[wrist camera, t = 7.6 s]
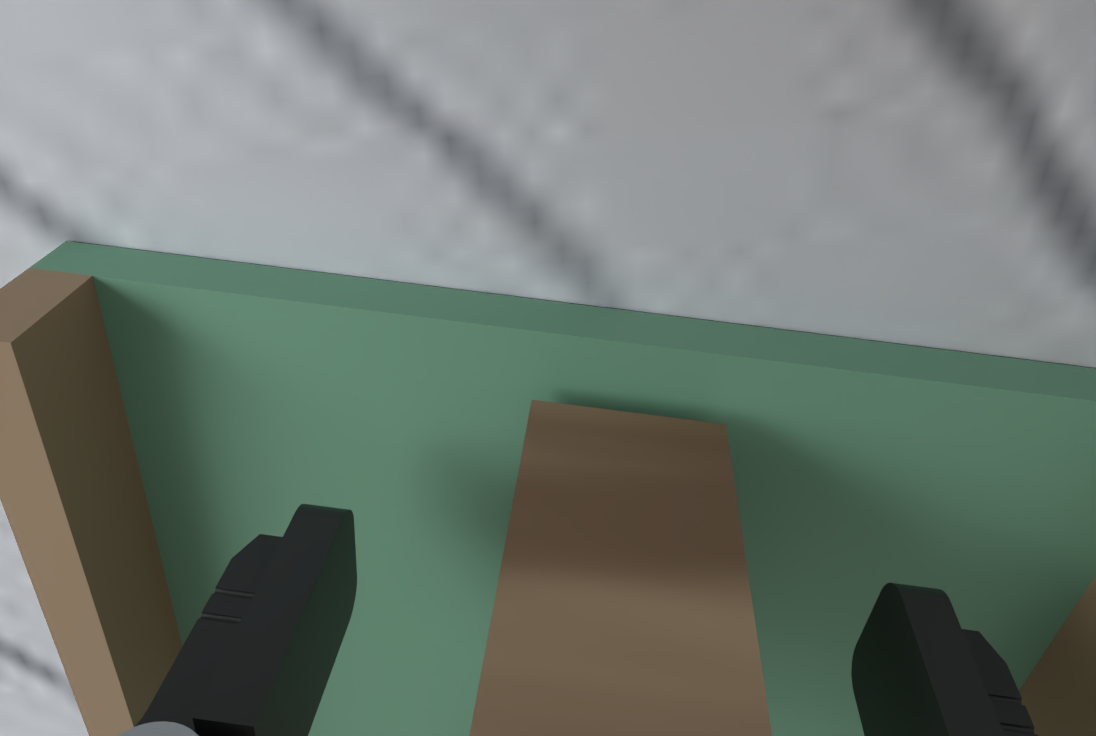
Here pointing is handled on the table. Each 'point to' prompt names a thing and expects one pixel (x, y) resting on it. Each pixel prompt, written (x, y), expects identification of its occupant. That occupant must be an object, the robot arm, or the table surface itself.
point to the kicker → (622, 585)
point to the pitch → (512, 475)
